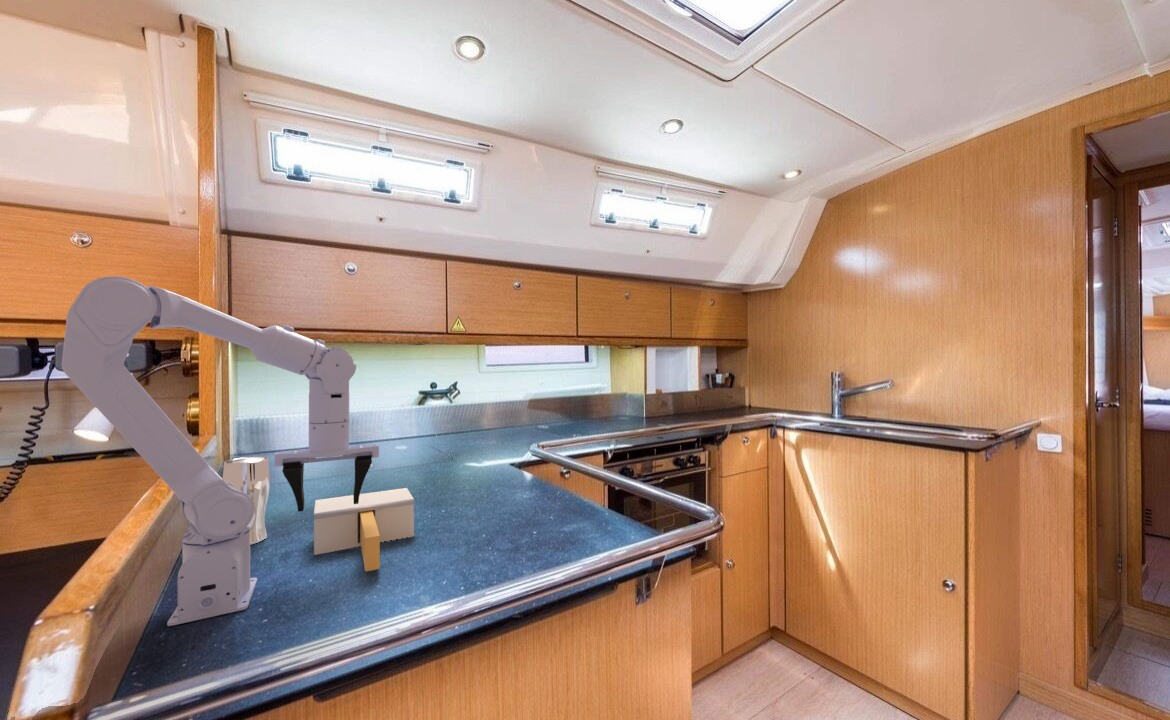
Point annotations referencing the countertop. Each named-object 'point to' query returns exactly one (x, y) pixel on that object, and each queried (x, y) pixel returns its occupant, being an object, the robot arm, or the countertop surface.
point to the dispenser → (342, 519)
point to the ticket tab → (369, 541)
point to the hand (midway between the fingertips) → (329, 506)
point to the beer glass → (251, 488)
